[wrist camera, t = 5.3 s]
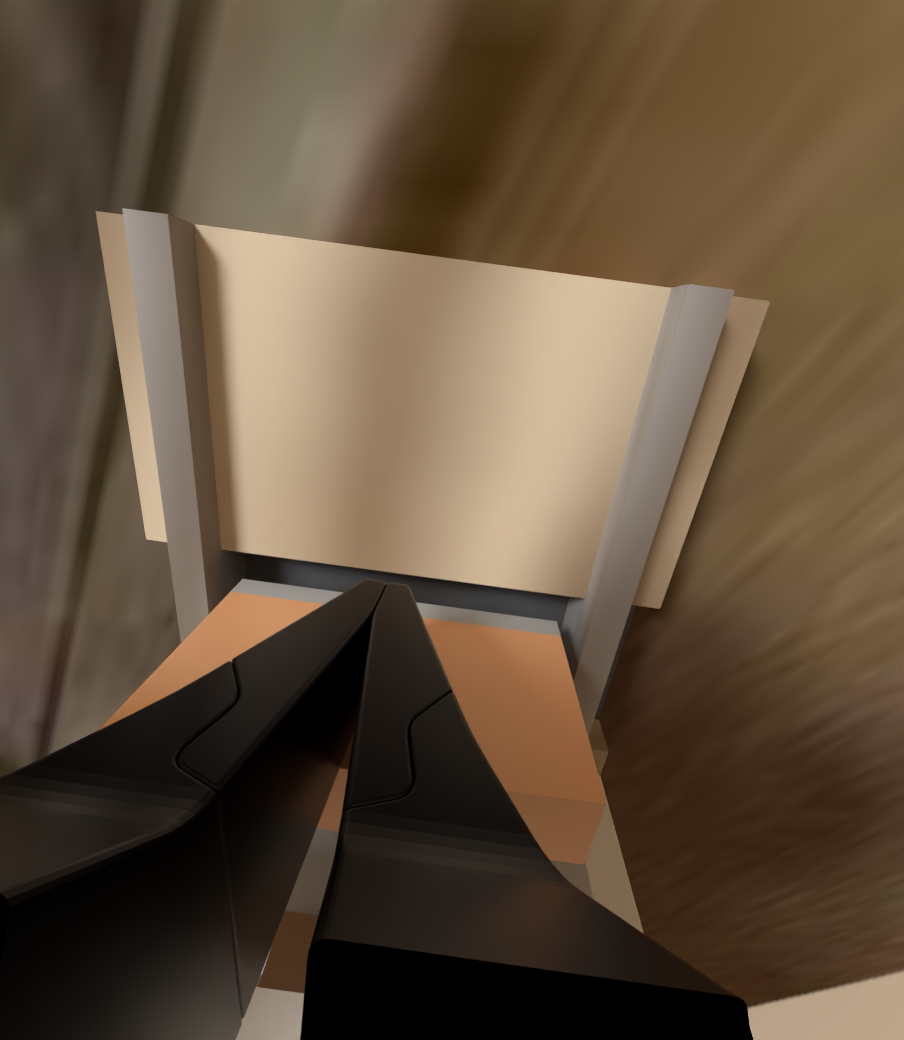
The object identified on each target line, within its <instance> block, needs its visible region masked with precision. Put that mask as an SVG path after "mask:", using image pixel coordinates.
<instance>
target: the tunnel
mask: <svg viewBox="0 0 904 1040" xmlns="http://www.w3.org/2000/svg"><path fill="white" fill-rule="evenodd" d="M599 779H600V783H601V786H602V790H603V794H604V797H605V801H606V807H605V810H604V812H603V815H602V817H601V820H600V823H599V825H598V828H597V831H596V833H595V836H594V839H593V841H592V844H591V846H590V849H589V852H588V854H587V857H586V860H585V862H584V865H583V864H576V863H568V862H561V861H554V860H550V861H551V862H552V864H553V865H554V866H555V867H556V868H557V869H558V870H559V872H560V873H561V874H562V875H563V876H564V877H565V878H566V879H567V880H568V881H569V882H570V883H571V884H573V885H574V886H575V887H576V888H578V889H579V890H581V891H582V892H584V893H585V894H586V895H588V896H589V897H591V898H592V899H594V900H595V901H597V902H598V903H600V904H601V905H603V906H604V907H606V908H607V909H608V910H610V911H611V912H613V913H614V914H616V915H617V916H619V917H620V918H622V919H623V920H625V921H626V922H628V923H629V924H630V925H632V926H633V927H635V928H636V929H638V930H639V931H641V932H642V933H643V929H642V925H641V922H640V918H639V914H638V911H637V907H636V904H635V900H634V896H633V893H632V889H631V885H630V882H629V878H628V874H627V871H626V867H625V863H624V860H623V856H622V852H621V849H620V845H619V842H618V838H617V834H616V831H615V827H614V823H613V820H612V816H611V812H610V809H609V805H608V801H607V798H606V794H605V791H604V787H603V783H602V780H601V776H600V775H599ZM303 1001H304V993H297V992H289V991H282V990H275V989H267V988H260V987H256V988H255V990H254V993H253V996H252V998H251V1001H250V1004H249V1006H248V1009H247V1011H246V1014H245V1016H244V1018H243V1019H242V1025H241V1028H240V1030H239V1033H238V1035H237V1038H236V1040H300V1035H301V1024H302V1013H303Z"/></svg>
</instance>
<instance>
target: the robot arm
mask: <svg viewBox="0 0 904 1040" xmlns="http://www.w3.org/2000/svg"><path fill="white" fill-rule="evenodd" d="M354 729H355V730H354ZM353 732H354V737H353V743H352V749H351V756H350V762H349V769H348V775H347V782H346V788H345V795H344V801H343V808H342V816H341V821H340V827H339V833H338V839H337V844H336V849H335V855H334V860H333V864H332V868H331V872H330V876H329V879H328V883H327V886H326V890H325V894H324V897H323V901H322V905H321V908H320V912H319V916H318V919H317V923H316V927H315V930H314V934H313V938H312V941H311V945H310V949H309V952H308V956H307V968H306V979H305V990H304V1001H303V1013H302V1024H301V1035H300V1040H753V1037H752V1034H751V1030H750V1026H749V1018H748V1010H747V1005H746V1003H745V1002H744V1001H743V1000H742V999H740V998H739V997H737V996H736V995H734V994H732V993H731V992H729V991H728V990H726V989H724V988H723V987H721V986H720V985H718V984H717V983H715V982H714V981H713V980H711V979H710V978H708V977H707V976H705V975H704V974H702V973H701V972H699V971H698V970H696V969H695V968H693V967H692V966H691V965H689V964H688V963H686V962H685V961H683V960H682V959H680V958H679V957H677V956H676V955H674V954H673V953H671V952H670V951H669V950H667V949H666V948H664V947H663V946H661V945H660V944H658V943H657V942H655V941H654V940H652V939H651V938H649V937H648V936H647V935H645V934H644V933H642V932H641V931H639V930H638V929H636V928H635V927H633V926H632V925H630V924H629V923H628V922H626V921H625V920H623V919H622V918H620V917H619V916H617V915H616V914H614V913H613V912H611V911H610V910H608V909H607V908H606V907H604V906H603V905H601V904H600V903H598V902H597V901H595V900H594V899H592V898H591V897H589V896H588V895H586V894H585V893H584V892H582V891H581V890H579V889H578V888H576V887H575V886H574V885H573V884H571V883H570V882H569V881H568V880H567V879H566V878H565V877H564V876H563V875H562V874H561V873H560V872H559V870H558V869H557V868H556V867H555V866H554V865H553V864H552V862H551V861H550V860H549V858H548V857H547V856H546V854H545V853H544V852H543V850H542V849H541V847H540V846H539V844H538V843H537V841H536V840H535V838H534V836H533V835H532V833H531V831H530V830H529V828H528V826H527V825H526V823H525V822H524V820H523V818H522V817H521V815H520V813H519V812H518V810H517V808H516V807H515V805H514V803H513V802H512V800H511V798H510V797H509V795H508V793H507V792H506V790H505V789H504V787H503V785H502V784H501V782H500V780H499V779H498V777H497V775H496V774H495V772H494V770H493V769H492V767H491V765H490V764H489V762H488V760H487V759H486V757H485V755H484V753H483V752H482V750H481V748H480V746H479V744H478V743H477V741H476V739H475V737H474V736H473V734H472V732H471V729H470V727H469V725H468V723H467V721H466V719H465V717H464V715H463V712H462V710H461V708H460V706H459V703H458V701H457V698H456V696H455V694H454V693H453V689H452V687H451V685H450V682H449V680H448V678H447V675H446V673H445V670H444V668H443V666H442V663H441V661H440V658H439V656H438V654H437V651H436V649H435V647H434V644H433V642H432V639H431V637H430V635H429V632H428V630H427V628H426V625H425V623H424V620H423V618H422V616H421V613H420V611H419V609H418V606H417V604H416V601H415V599H414V597H413V594H412V592H411V589H410V587H409V586H408V585H405V584H398V583H388V584H386V583H385V582H383V581H377V580H370V579H366V580H364V581H362V582H361V583H359V584H357V585H355V586H354V587H352V588H350V589H349V590H347V591H345V592H344V593H342V594H340V595H339V596H337V597H335V598H334V599H332V600H330V601H329V602H327V603H325V604H324V605H322V606H320V607H319V608H317V609H315V610H314V611H312V612H310V613H308V614H307V615H305V616H303V617H302V618H300V619H298V620H297V621H295V622H293V623H292V624H290V625H288V626H287V627H285V628H283V629H282V630H280V631H278V632H277V633H275V634H273V635H272V636H270V637H268V638H267V639H265V640H263V641H261V642H260V643H258V644H256V645H255V646H253V647H251V648H250V649H248V650H246V651H245V652H243V653H241V654H240V655H238V656H236V657H235V658H233V659H232V662H231V661H228V662H226V663H224V664H223V665H221V666H219V667H218V668H216V669H214V670H212V671H211V672H209V673H207V674H206V675H204V676H202V677H200V678H199V679H197V680H195V681H193V682H191V683H190V684H188V685H186V686H184V687H183V688H181V689H179V690H177V691H175V692H174V693H172V694H170V695H168V696H166V697H164V698H162V699H160V700H158V701H156V702H154V703H152V704H150V705H148V706H146V707H144V708H142V709H141V710H139V711H137V712H135V713H133V714H131V715H129V716H127V717H125V718H122V719H120V720H118V721H116V722H114V723H112V724H110V725H108V726H106V727H104V728H102V729H100V730H98V731H96V732H94V733H92V734H90V735H88V736H86V737H84V738H82V739H80V740H78V741H76V742H74V743H72V744H70V745H68V746H66V747H64V748H62V749H60V750H58V751H56V752H54V753H52V754H50V755H48V756H46V757H43V758H41V759H39V760H37V761H35V762H33V763H31V764H29V765H27V766H25V767H23V768H21V769H18V770H16V771H14V772H12V773H10V774H7V775H5V776H2V777H0V1040H236V1038H237V1035H238V1033H239V1030H240V1028H241V1025H242V1019H243V1018H244V1016H245V1014H246V1011H247V1009H248V1006H249V1004H250V1001H251V998H252V996H253V993H254V990H255V988H256V985H257V983H258V980H259V977H260V975H261V972H262V970H263V967H264V964H265V962H266V959H267V956H268V954H269V951H270V949H271V946H272V943H273V941H274V938H275V936H276V933H277V930H278V928H279V925H280V923H281V920H282V917H283V915H284V912H285V909H286V907H287V904H288V902H289V899H290V896H291V894H292V891H293V889H294V886H295V883H296V881H297V878H298V875H299V873H300V870H301V868H302V865H303V862H304V860H305V857H306V855H307V852H308V849H309V847H310V844H311V842H312V839H313V836H314V834H315V831H316V828H317V826H318V823H319V821H320V818H321V815H322V813H323V810H324V808H325V805H326V802H327V800H328V797H329V794H330V792H331V789H332V787H333V784H334V781H335V779H336V776H337V774H338V771H339V768H340V766H341V763H342V761H343V758H344V755H345V753H346V750H347V747H348V745H349V742H350V740H351V737H352V734H353Z"/></svg>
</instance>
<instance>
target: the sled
mask: <svg viewBox="0 0 904 1040" xmlns="http://www.w3.org/2000/svg"><path fill="white" fill-rule="evenodd" d="M342 593H344V592H336V591H329V590H321V589H314V588H307V587H299V586H292V585H284V584H277V583H270V582H262V581H255V580H247V579H242V580H241V581H240V582H239V583H238V584H237V585H236V586H235V587H234V588H233V589H232V590H231V592H230V593H229V594H228V595H227V596H226V597H225V598H224V599H223V600H222V601H221V602H220V603H219V604H218V605H217V606H216V607H215V608H214V609H213V610H212V612H211V613H210V614H209V615H208V616H207V617H206V618H205V619H204V620H203V621H202V622H201V623H200V624H199V625H198V626H197V627H196V628H195V629H194V630H193V631H192V633H191V634H190V635H189V636H188V637H187V638H186V639H185V640H184V641H183V642H182V643H181V644H180V645H179V646H178V647H177V648H176V649H175V650H174V651H173V653H172V654H171V655H170V656H169V657H168V658H167V659H166V660H165V661H164V662H163V663H162V664H161V665H160V666H159V667H158V668H157V669H156V670H155V671H154V673H153V674H152V675H151V676H150V677H149V678H148V679H147V680H146V681H145V682H144V683H143V684H142V685H141V686H140V687H139V688H138V689H137V690H136V691H135V692H134V694H133V695H132V696H131V697H130V698H129V699H128V700H127V701H126V702H125V703H124V704H123V705H122V706H121V707H120V708H119V709H118V710H117V711H116V712H115V714H114V715H113V716H112V717H111V718H110V719H109V720H108V721H107V722H106V723H105V724H104V725H103V726H102V727H101V728H100V729H102V728H104V727H106V726H108V725H110V724H112V723H114V722H116V721H118V720H120V719H122V718H125V717H127V716H129V715H131V714H133V713H135V712H137V711H139V710H141V709H142V708H144V707H146V706H148V705H150V704H152V703H154V702H156V701H158V700H160V699H162V698H164V697H166V696H168V695H170V694H172V693H174V692H175V691H177V690H179V689H181V688H183V687H184V686H186V685H188V684H190V683H191V682H193V681H195V680H197V679H199V678H200V677H202V676H204V675H206V674H207V673H209V672H211V671H212V670H214V669H216V668H218V667H219V666H221V665H223V664H224V663H226V662H228V661H231V662H232V659H233V658H235V657H236V656H238V655H240V654H241V653H243V652H245V651H246V650H248V649H250V648H251V647H253V646H255V645H256V644H258V643H260V642H261V641H263V640H265V639H267V638H268V637H270V636H272V635H273V634H275V633H277V632H278V631H280V630H282V629H283V628H285V627H287V626H288V625H290V624H292V623H293V622H295V621H297V620H298V619H300V618H302V617H303V616H305V615H307V614H308V613H310V612H312V611H314V610H315V609H317V608H319V607H320V606H322V605H324V604H325V603H327V602H329V601H330V600H332V599H334V598H335V597H337V596H339V595H340V594H342ZM416 604H417V606H418V609H419V611H420V613H421V616H422V618H423V620H424V623H425V625H426V628H427V630H428V632H429V635H430V637H431V639H432V642H433V644H434V647H435V649H436V651H437V654H438V656H439V658H440V661H441V663H442V666H443V668H444V670H445V673H446V675H447V678H448V680H449V682H450V685H451V687H452V689H453V693H454V694H455V696H456V698H457V701H458V703H459V706H460V708H461V710H462V712H463V715H464V717H465V719H466V721H467V723H468V725H469V727H470V729H471V732H472V734H473V736H474V737H475V739H476V741H477V743H478V744H479V746H480V748H481V750H482V752H483V753H484V755H485V757H486V759H487V760H488V762H489V764H490V765H491V767H492V769H493V770H494V772H495V774H496V775H497V777H498V779H499V780H500V782H501V784H502V785H503V787H504V789H505V790H506V792H507V793H508V795H509V797H510V798H511V800H512V802H513V803H514V805H515V807H516V808H517V810H518V812H519V813H520V815H521V817H522V818H523V820H524V822H525V823H526V825H527V826H528V828H529V830H530V831H531V833H532V835H533V836H534V838H535V840H536V841H537V843H538V844H539V846H540V847H541V849H542V850H543V852H544V853H545V854H546V856H547V857H548V858H549V860H554V861H561V862H568V863H576V864H583V865H584V862H585V860H586V857H587V854H588V852H589V849H590V846H591V844H592V841H593V839H594V836H595V833H596V831H597V828H598V825H599V823H600V820H601V817H602V815H603V812H604V810H605V807H606V801H605V797H604V794H603V790H602V786H601V783H600V779H599V775H598V772H597V768H596V764H595V760H594V757H593V753H592V749H591V746H590V742H589V738H588V735H587V731H586V727H585V723H584V720H583V716H582V712H581V709H580V705H579V701H578V698H577V694H576V690H575V686H574V683H573V679H572V675H571V672H570V668H569V664H568V661H567V657H566V653H565V649H564V646H563V642H562V638H561V635H560V631H559V627H558V624H557V621H551V620H543V619H536V618H528V617H521V616H514V615H506V614H499V613H491V612H484V611H477V610H469V609H462V608H454V607H447V606H440V605H432V604H425V603H418V602H416ZM100 729H99V730H100ZM354 730H355V729H354ZM353 737H354V732H353V734H352V737H351V740H350V742H349V745H348V747H347V750H346V753H345V755H344V758H343V761H342V763H341V766H340V768H339V771H338V774H337V776H336V779H335V781H334V784H333V787H332V789H331V792H330V794H329V797H328V800H327V802H326V805H325V808H324V810H323V813H322V815H321V818H320V821H319V823H318V826H317V828H316V831H315V834H314V836H313V839H312V842H311V844H310V847H309V849H308V852H307V855H306V857H305V860H304V862H303V865H302V868H301V870H300V873H299V875H298V878H297V881H296V883H295V886H294V889H293V891H292V894H291V896H290V899H289V902H288V904H287V907H286V909H285V912H284V915H283V917H282V920H281V923H280V925H279V928H278V930H277V933H276V936H275V938H274V941H273V943H272V946H271V949H270V951H269V954H268V956H267V959H266V962H265V964H264V967H263V970H262V972H261V975H262V976H261V979H260V982H259V985H258V987H260V988H267V989H275V990H282V991H289V992H297V993H304V990H305V979H306V968H307V956H308V952H309V949H310V945H311V941H312V938H313V934H314V930H315V927H316V923H317V919H318V916H319V912H320V908H321V905H322V901H323V897H324V894H325V890H326V886H327V883H328V879H329V876H330V872H331V868H332V864H333V860H334V855H335V849H336V844H337V839H338V833H339V827H340V821H341V816H342V808H343V801H344V795H345V788H346V782H347V775H348V769H349V762H350V756H351V749H352V743H353Z"/></svg>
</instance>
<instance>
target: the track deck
mask: <svg viewBox="0 0 904 1040" xmlns="http://www.w3.org/2000/svg"><path fill="white" fill-rule="evenodd" d="M122 209H123V215H122V214H114V213H107V212H99V211H96V216H97V223H98V229H99V236H100V242H101V249H102V255H103V262H104V268H105V275H106V281H107V288H108V294H109V301H110V307H111V314H112V320H113V327H114V333H115V340H116V346H117V352H118V359H119V365H120V372H121V378H122V385H123V391H124V398H125V404H126V411H127V417H128V424H129V430H130V437H131V443H132V450H133V456H134V463H135V469H136V476H137V482H138V489H139V495H140V502H141V508H142V515H143V521H144V527H145V534H146V539H147V540H155V541H162V542H167V543H168V551H169V558H170V566H171V573H172V581H173V588H174V595H175V603H176V610H177V618H178V625H179V633H180V640H181V643H182V642H183V641H184V640H185V639H186V638H187V637H188V636H189V635H190V634H191V633H192V631H193V630H194V629H195V628H196V627H197V626H198V625H199V624H200V623H201V622H202V621H203V620H204V619H205V618H206V617H207V616H208V615H209V614H210V613H211V612H212V610H213V609H214V608H215V607H216V606H217V605H218V604H219V603H220V602H221V601H222V600H223V599H224V598H225V597H226V596H227V595H228V594H229V593H230V592H231V590H232V589H233V588H234V587H235V586H236V585H237V584H238V583H239V582H240V581H241V580H242V579H247V580H255V581H262V582H270V583H277V584H284V585H292V586H299V587H307V588H314V589H321V590H329V591H336V592H345V591H347V590H349V589H350V588H352V587H354V586H355V585H357V584H359V583H361V582H362V581H364V580H366V579H370V580H377V581H383V582H385V583H386V584H388V583H398V584H405V585H408V586H409V587H410V589H411V592H412V594H413V597H414V599H415V601H416V602H418V603H425V604H432V605H440V606H447V607H454V608H462V609H469V610H477V611H484V612H491V613H499V614H506V615H514V616H521V617H528V618H536V619H543V620H551V621H557V624H558V627H559V631H560V635H561V638H562V642H563V646H564V649H565V653H566V657H567V661H568V664H569V668H570V672H571V675H572V679H573V683H574V686H575V690H576V694H577V698H578V701H579V705H580V709H581V712H582V716H583V720H584V723H585V727H586V731H587V735H588V738H589V742H590V746H591V749H592V753H593V757H594V760H595V764H596V768H597V772H598V775H601V772H602V769H603V767H604V764H605V761H606V758H607V756H608V753H609V751H608V747H607V744H606V741H605V738H604V734H603V731H602V728H601V725H600V721H599V717H600V714H601V711H602V708H603V705H604V702H605V699H606V696H607V693H608V690H609V687H610V684H611V681H612V678H613V675H614V672H615V669H616V666H617V663H618V660H619V657H620V654H621V652H622V649H623V646H624V643H625V640H626V637H627V634H628V631H629V628H630V625H631V622H632V619H633V616H634V613H635V610H636V607H637V606H643V607H650V608H658V609H660V608H661V605H662V602H663V599H664V596H665V594H666V591H667V588H668V585H669V582H670V580H671V577H672V574H673V571H674V568H675V566H676V563H677V560H678V557H679V555H680V552H681V549H682V546H683V543H684V541H685V538H686V535H687V532H688V529H689V527H690V524H691V521H692V518H693V515H694V513H695V510H696V507H697V504H698V501H699V499H700V496H701V493H702V490H703V487H704V485H705V482H706V479H707V476H708V474H709V471H710V468H711V465H712V462H713V460H714V457H715V454H716V451H717V448H718V446H719V443H720V440H721V437H722V434H723V432H724V429H725V426H726V423H727V420H728V418H729V415H730V412H731V409H732V407H733V404H734V401H735V398H736V395H737V393H738V390H739V387H740V384H741V381H742V379H743V376H744V373H745V370H746V367H747V365H748V362H749V359H750V356H751V353H752V351H753V348H754V345H755V342H756V340H757V337H758V334H759V331H760V328H761V326H762V323H763V320H764V317H765V314H766V312H767V309H768V306H769V303H770V301H764V300H757V299H750V298H742V297H735V296H733V294H734V291H735V290H730V289H723V288H715V287H708V286H700V285H693V284H687V285H683V286H678V287H674V288H667V287H660V286H652V285H645V284H637V283H630V282H622V281H615V280H608V279H600V278H593V277H585V276H578V275H570V274H563V273H555V272H548V271H540V270H533V269H525V268H518V267H510V266H503V265H495V264H488V263H480V262H473V261H466V260H458V259H451V258H443V257H436V256H428V255H421V254H413V253H406V252H398V251H391V250H383V249H376V248H368V247H361V246H353V245H346V244H338V243H331V242H324V241H316V240H309V239H301V238H294V237H286V236H279V235H271V234H264V233H256V232H249V231H241V230H234V229H226V228H219V227H211V226H204V225H196V224H192V223H190V222H187V221H184V220H182V219H179V218H176V217H174V216H171V215H168V214H162V213H154V212H147V211H139V210H132V209H124V208H122Z"/></svg>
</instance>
